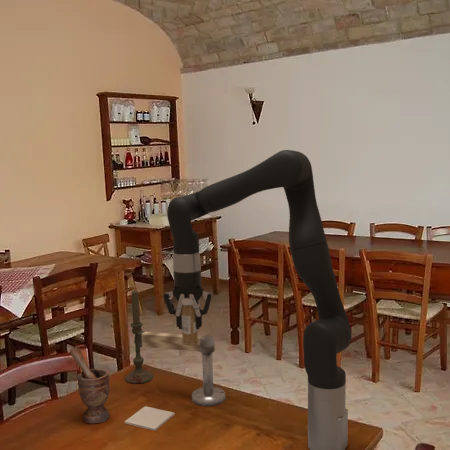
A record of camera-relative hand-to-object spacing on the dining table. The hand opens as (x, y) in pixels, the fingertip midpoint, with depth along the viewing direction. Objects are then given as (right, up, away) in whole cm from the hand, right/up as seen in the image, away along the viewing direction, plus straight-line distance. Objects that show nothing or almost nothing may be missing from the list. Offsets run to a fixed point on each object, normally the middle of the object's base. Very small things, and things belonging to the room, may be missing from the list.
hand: (189, 328), depth 160 cm
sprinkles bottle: (0, -5, +1) cm, 5 cm away
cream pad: (-11, -26, +1) cm, 28 cm away
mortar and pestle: (-28, -26, +3) cm, 38 cm away
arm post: (+5, -23, +13) cm, 27 cm away
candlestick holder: (-18, -22, +29) cm, 40 cm away
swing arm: (-5, -9, +13) cm, 16 cm away
